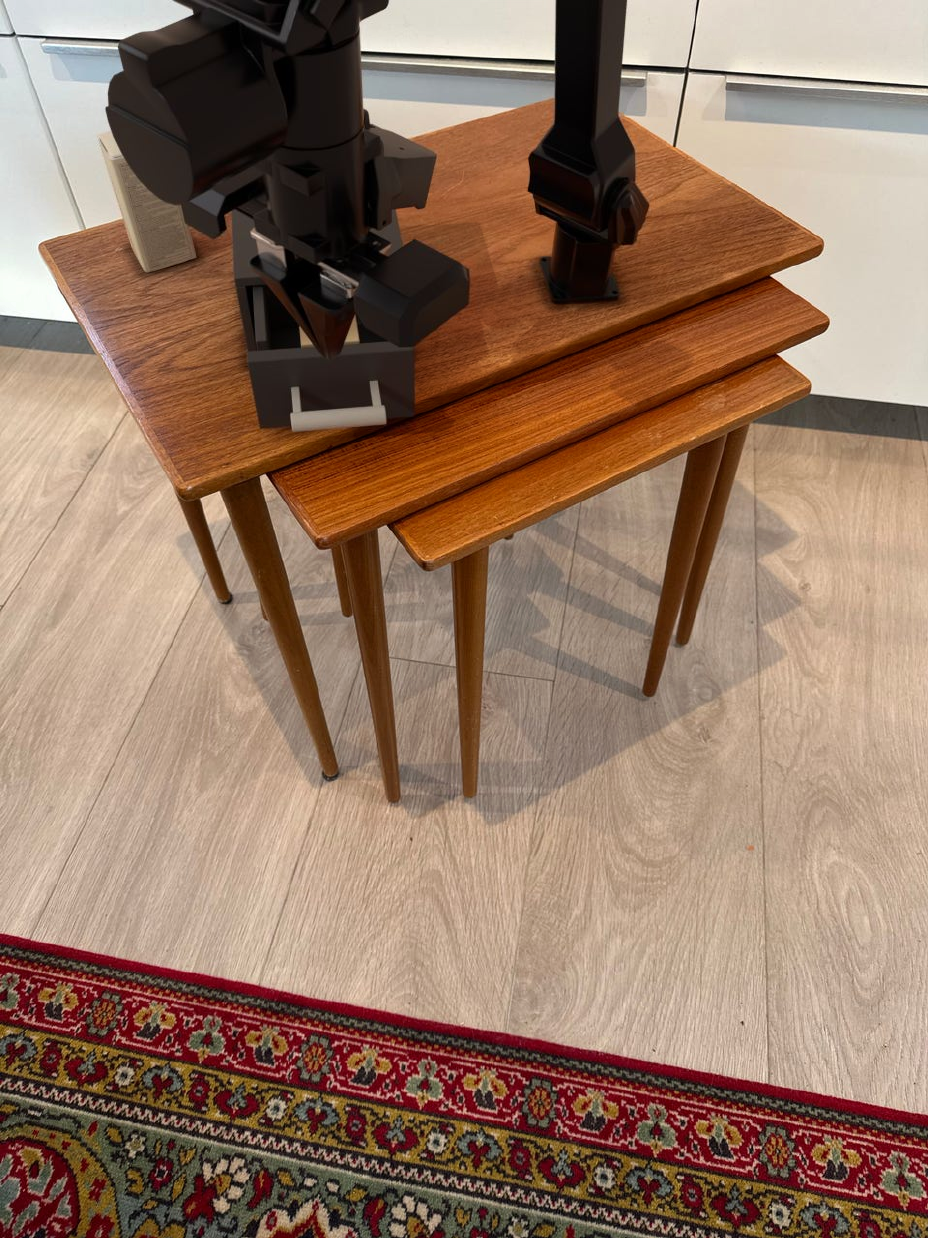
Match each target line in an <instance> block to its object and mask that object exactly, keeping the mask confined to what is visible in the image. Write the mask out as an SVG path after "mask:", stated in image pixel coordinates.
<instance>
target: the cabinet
mask: <svg viewBox="0 0 928 1238" xmlns="http://www.w3.org/2000/svg"><path fill="white" fill-rule="evenodd" d="M230 216H231V217H230V218H231V239H232V240H231V241H232V266H233V267H232V269H233V281H234V286H235V291H236V297H237V303H238V309H239V313H240V318H241V323H242V328H243V334H244V340H245V345H246V350H247V352H250V351H258V350H257V345H256V335H255V317H254V300H253V285H267V284H266V283H265V281H264V280H263V279H262V278H261V277H260V276H259V275H258V274H257V273H255V272H254V271H253V270H252V269H251V266H250V260H251V259H252V258H253V257H255V256H256V255H258V248H257V242H256V239H254V238H252V237H251V233H250V230H251V229H252V228H254V227H255V225H254V220H252V219H250V218H249V217H247V216H245V215H243V214H242V213H240V212H238V211H236V210H232V211H231V212H230ZM369 231H371V232H373V233H374V234H376V235H378V236H380V237H382V238H384V239H386V240H388V241H389V242H391V249H390V250H389V251H388V252H387V256H390V255H391V254H393V253H394V252H396V251H397V250H398V249H400V248H401V247H403V246H404V243H403V238H402V232H401V228H400V224H399V218H398V213H397V209H392V223H391V224H389V225H387V226H386V227H384V228H383V229H381V230H380V231H377V230H376V229H374V228H372V229H371V230H369Z"/></svg>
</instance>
